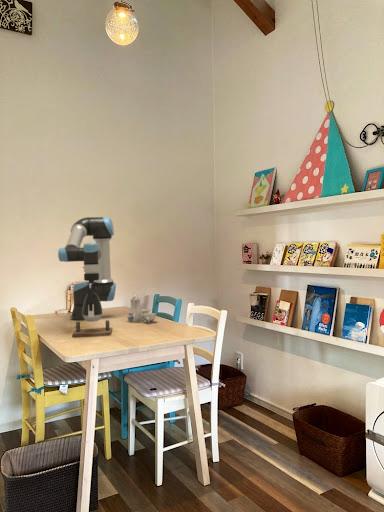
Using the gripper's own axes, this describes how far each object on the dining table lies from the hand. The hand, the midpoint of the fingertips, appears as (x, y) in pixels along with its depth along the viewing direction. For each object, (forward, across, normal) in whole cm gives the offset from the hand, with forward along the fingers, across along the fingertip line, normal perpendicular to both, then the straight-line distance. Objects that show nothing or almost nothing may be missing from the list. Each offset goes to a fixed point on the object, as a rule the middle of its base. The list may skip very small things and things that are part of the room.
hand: (92, 315), depth 209 cm
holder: (+10, 0, 0) cm, 10 cm away
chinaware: (+10, -33, +25) cm, 43 cm away
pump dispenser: (+3, 0, 0) cm, 3 cm away
